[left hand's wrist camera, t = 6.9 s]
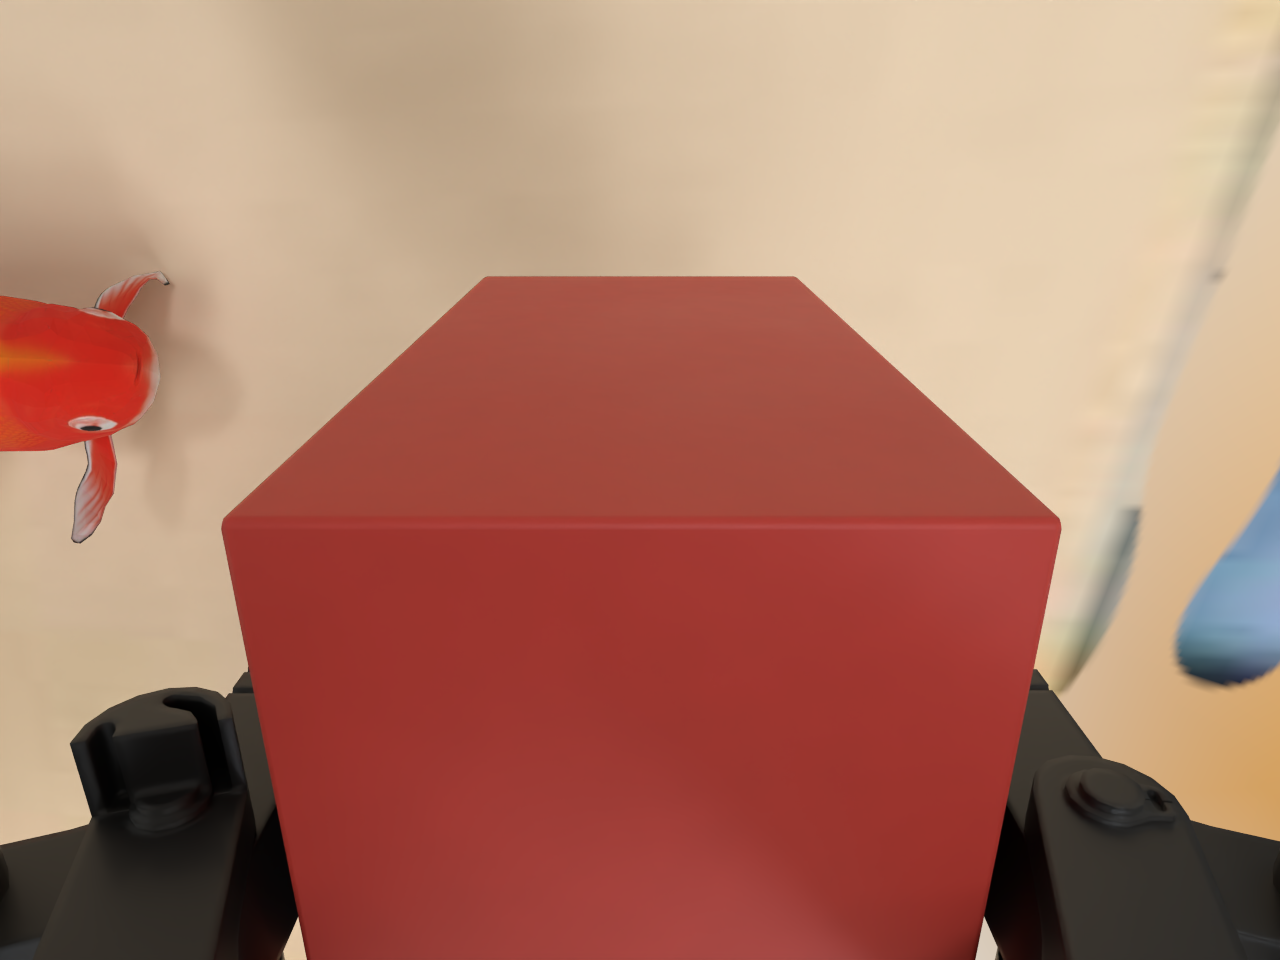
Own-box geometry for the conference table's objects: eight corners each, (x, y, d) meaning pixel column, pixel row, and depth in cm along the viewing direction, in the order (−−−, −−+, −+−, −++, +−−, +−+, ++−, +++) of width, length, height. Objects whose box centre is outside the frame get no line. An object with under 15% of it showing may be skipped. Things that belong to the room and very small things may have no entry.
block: (483, 275, 15) (214, 519, 5) (797, 275, 15) (1069, 519, 5) (511, 689, 18) (370, 1295, 9) (769, 689, 18) (911, 1293, 9)
